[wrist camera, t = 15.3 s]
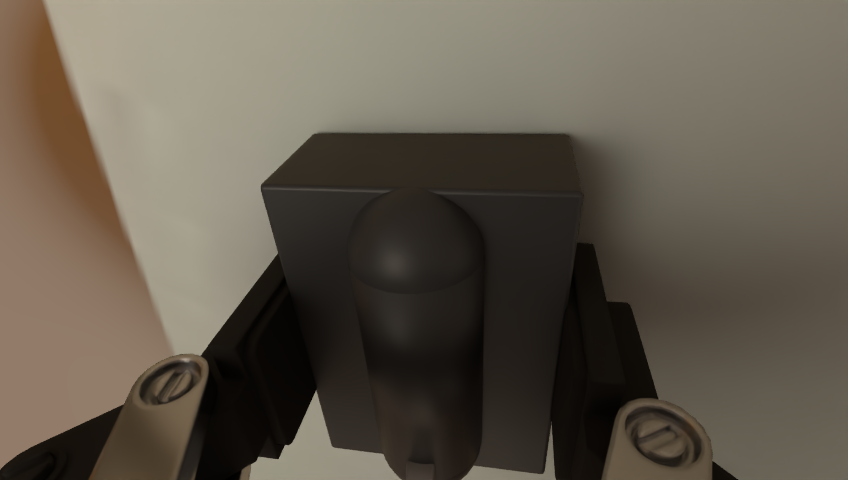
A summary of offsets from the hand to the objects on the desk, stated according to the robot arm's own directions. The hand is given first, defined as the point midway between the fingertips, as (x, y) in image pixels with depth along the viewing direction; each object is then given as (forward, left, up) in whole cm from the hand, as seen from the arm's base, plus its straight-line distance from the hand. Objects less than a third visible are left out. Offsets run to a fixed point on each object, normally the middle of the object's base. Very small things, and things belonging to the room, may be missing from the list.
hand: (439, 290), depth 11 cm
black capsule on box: (0, 0, 0) cm, 0 cm away
